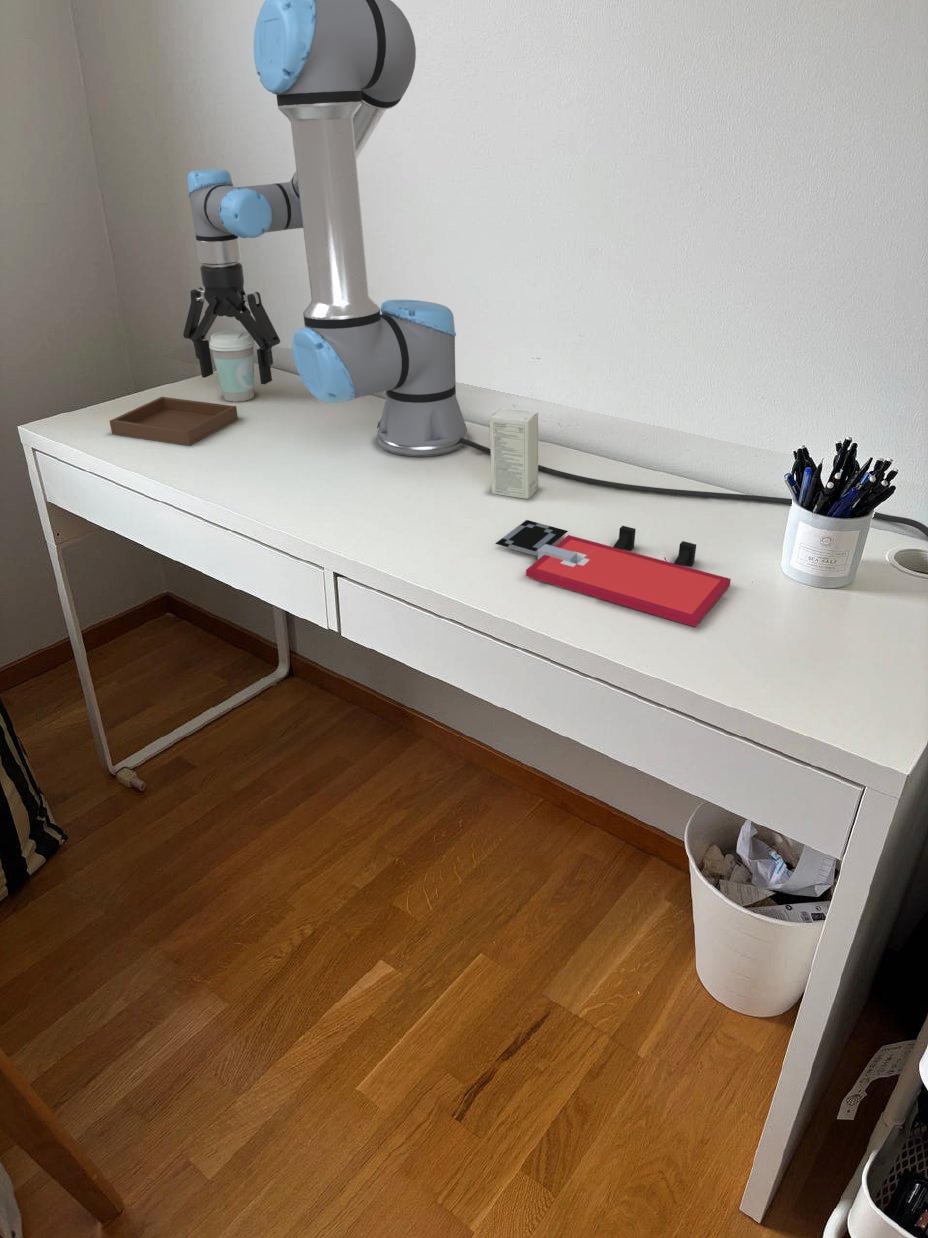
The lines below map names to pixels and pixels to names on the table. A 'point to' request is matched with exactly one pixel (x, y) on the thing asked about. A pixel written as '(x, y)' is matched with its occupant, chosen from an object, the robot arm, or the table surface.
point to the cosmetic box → (514, 452)
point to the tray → (174, 420)
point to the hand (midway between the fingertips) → (236, 379)
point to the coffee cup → (234, 363)
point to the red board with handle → (620, 572)
